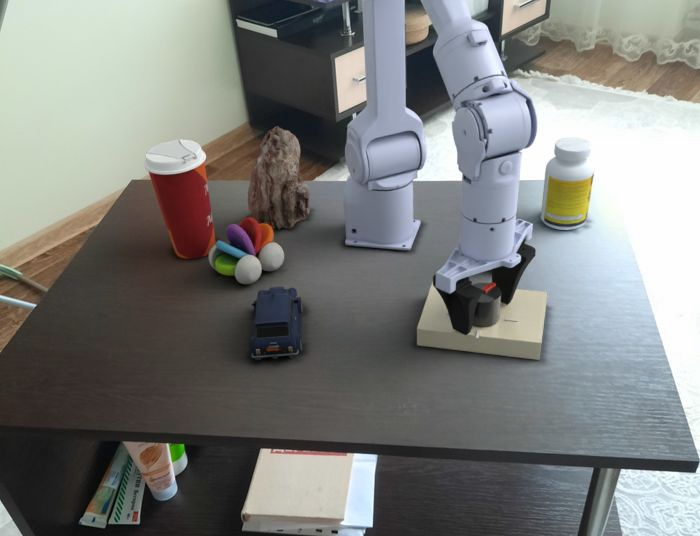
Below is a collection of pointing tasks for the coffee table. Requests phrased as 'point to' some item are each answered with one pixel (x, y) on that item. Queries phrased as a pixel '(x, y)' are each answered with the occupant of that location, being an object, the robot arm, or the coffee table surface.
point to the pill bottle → (568, 185)
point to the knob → (487, 305)
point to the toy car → (276, 324)
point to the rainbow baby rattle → (247, 251)
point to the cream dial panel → (499, 339)
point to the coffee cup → (183, 195)
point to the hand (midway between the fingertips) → (482, 315)
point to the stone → (278, 182)
